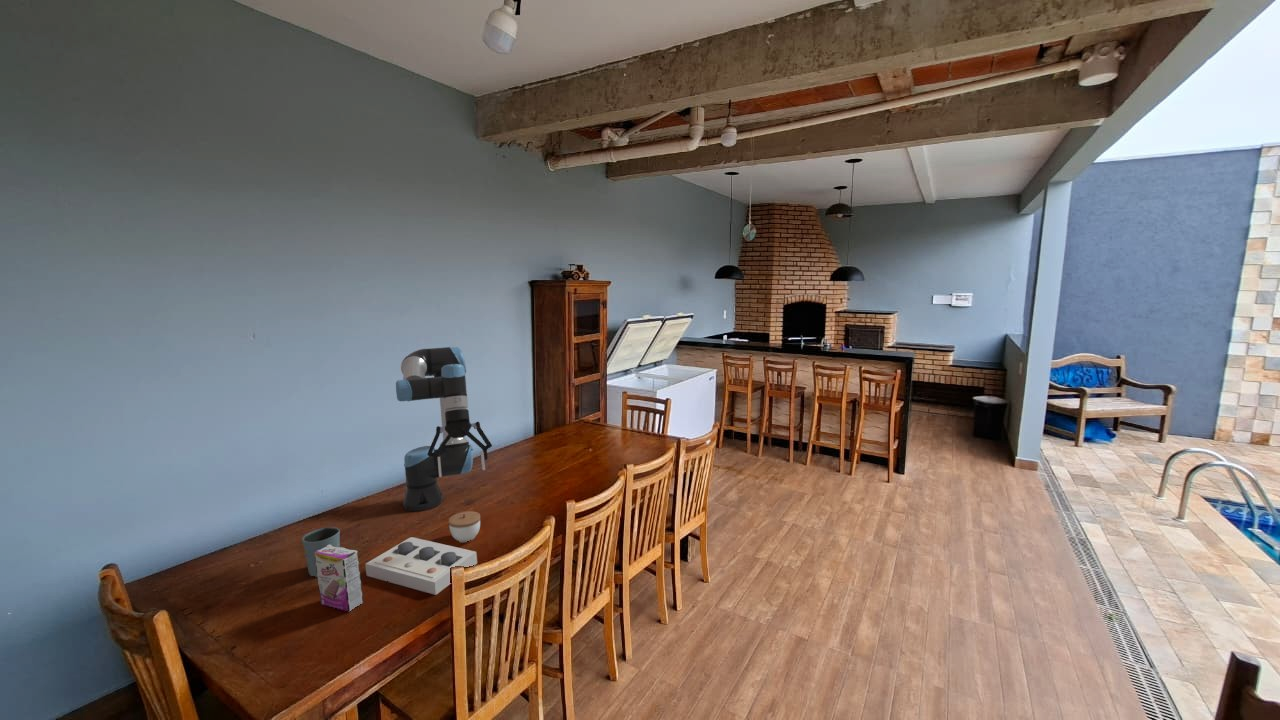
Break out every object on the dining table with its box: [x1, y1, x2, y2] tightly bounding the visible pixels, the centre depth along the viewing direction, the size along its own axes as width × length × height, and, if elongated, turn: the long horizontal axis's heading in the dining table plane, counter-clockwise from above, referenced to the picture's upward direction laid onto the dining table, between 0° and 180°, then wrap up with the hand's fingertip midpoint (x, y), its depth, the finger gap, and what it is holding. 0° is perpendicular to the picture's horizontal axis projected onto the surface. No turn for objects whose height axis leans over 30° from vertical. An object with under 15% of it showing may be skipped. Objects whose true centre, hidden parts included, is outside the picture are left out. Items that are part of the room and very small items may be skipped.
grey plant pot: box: [301, 526, 341, 578], centre depth 160 cm, size 10×10×12 cm
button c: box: [441, 552, 456, 567], centre depth 158 cm, size 4×4×3 cm
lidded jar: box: [448, 510, 481, 543], centre depth 179 cm, size 11×11×9 cm
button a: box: [397, 542, 413, 556], centre depth 164 cm, size 4×4×3 cm
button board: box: [365, 536, 478, 596], centre depth 160 cm, size 18×28×4 cm, turn 68°
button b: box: [419, 547, 434, 561], centre depth 161 cm, size 4×4×3 cm
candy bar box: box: [314, 545, 364, 613], centre depth 141 cm, size 11×5×16 cm, turn 71°
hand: (462, 473), depth 166 cm, fingers open, 13 cm apart
